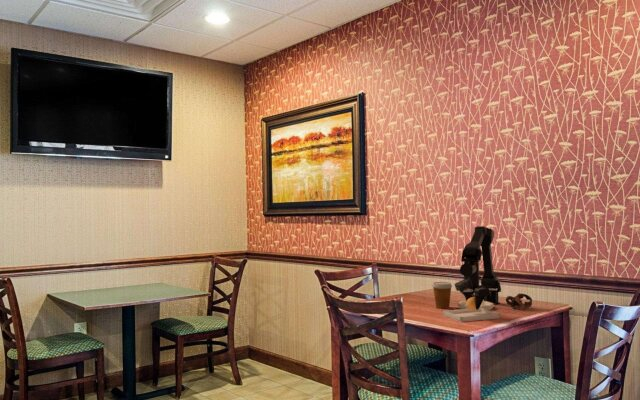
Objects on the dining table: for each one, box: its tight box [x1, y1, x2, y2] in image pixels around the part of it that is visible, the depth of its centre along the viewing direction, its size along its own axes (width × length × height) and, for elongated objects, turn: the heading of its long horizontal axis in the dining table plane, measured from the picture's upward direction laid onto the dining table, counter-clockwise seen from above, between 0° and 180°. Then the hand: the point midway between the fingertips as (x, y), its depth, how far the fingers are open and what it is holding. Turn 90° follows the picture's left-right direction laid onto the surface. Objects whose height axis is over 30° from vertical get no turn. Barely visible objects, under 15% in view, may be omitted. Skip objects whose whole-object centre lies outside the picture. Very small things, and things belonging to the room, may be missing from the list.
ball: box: [466, 297, 476, 311], centre depth 246 cm, size 6×6×6 cm
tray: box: [442, 308, 502, 323], centre depth 243 cm, size 20×15×2 cm
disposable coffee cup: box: [432, 281, 453, 309], centre depth 267 cm, size 10×10×12 cm
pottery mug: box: [505, 293, 533, 311], centre depth 260 cm, size 12×10×8 cm
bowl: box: [456, 300, 495, 311], centre depth 265 cm, size 16×16×2 cm
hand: (473, 308), depth 246 cm, fingers closed on ball, 6 cm apart
